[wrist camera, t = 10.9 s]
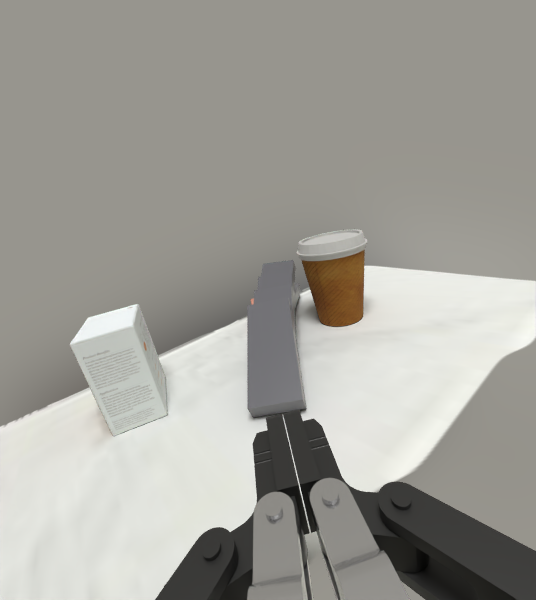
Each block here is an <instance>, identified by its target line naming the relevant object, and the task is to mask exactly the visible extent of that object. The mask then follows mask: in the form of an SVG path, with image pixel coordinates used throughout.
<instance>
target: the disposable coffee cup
mask: <svg viewBox="0 0 536 600" xmlns="http://www.w3.org/2000/svg"><path fill="white" fill-rule="evenodd" d="M366 244H367V239H365V237H364V234H363V231H361V230H342V231H334V232H329V233H323V234H319V235H315V236H312V237H308V238H306V239H303V240H301V241H300V242H299V245H298V251H297V255H299V258H300V259H301V260H302V264H303V267H304V270H305V274H306V277H307V280H308V283H309V287H310V290H311V293H312V296H313V299H314V303H315V306H316V309H317V313H318V316H319V319H320V322H321V323H323V324H325V325H328V326H346V325H350V324H353V323H356V322H358V321H359V320H361V319H362V317H363V292H364V251H365V248H366Z"/></svg>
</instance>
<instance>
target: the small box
mask: <svg viewBox="0 0 536 600" xmlns="http://www.w3.org/2000/svg"><path fill="white" fill-rule="evenodd" d="M70 347H71V349H72V351H73V353H74V356H75V358H76V360H77V362H78V364H79V366H80V368H81V370H82V372H83V375H84V377H85V379H86V380H87V383H88V384H89V387H90V389H91V391H92V393H93V395H94V397H95V400H96V402H97V404H98V406H99V408H100V410H101V412H102V414H103V416H104V418H105V420H106V422H107V425H108V427H109V429H110V431H111V433H112V435H113V436H115V435H118V434H120V433H123V432H125V431H128V430H130V429H133V428H135V427H138V426H141V425H143V424H146V423H148V422H151V421H154V420H156V419H159V418H161V417H164V416H166V415H167V414H168V413H167V397H166V378H165V375H164V372H163V369H162V366H161V364H160V361H159V358H158V355H157V353H156V350H155V347H154V344H153V342H152V339H151V336H150V334H149V331H148V328H147V326H146V323H145V320H144V317H143V315H142V312H141V309H140V306H139V304H136V305H132V306H128V307H125V308H121V309H118V310H114V311H110V312H107V313H103V314H100V315H96V316H93V317H89V318H88V319H87V320H86V322H85V323H84V324H83V326H82V327H81V329H80V330H79V332H78V333H77V335H76V336H75V337H74V339H73V340H72V342H71V343H70Z"/></svg>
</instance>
